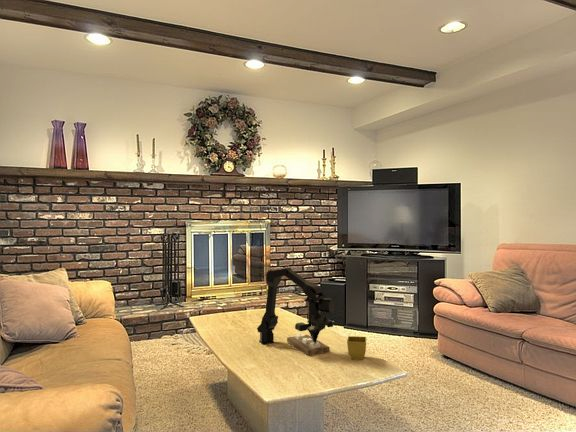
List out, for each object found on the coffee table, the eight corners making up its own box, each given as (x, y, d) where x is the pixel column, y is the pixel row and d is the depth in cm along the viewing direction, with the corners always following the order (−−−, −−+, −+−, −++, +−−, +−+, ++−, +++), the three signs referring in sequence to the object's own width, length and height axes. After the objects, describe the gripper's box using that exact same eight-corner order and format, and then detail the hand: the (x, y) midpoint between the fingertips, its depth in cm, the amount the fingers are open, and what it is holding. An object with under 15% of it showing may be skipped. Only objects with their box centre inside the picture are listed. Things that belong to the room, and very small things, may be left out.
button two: (305, 345, 212) (305, 340, 212) (302, 343, 215) (302, 338, 215) (312, 344, 213) (312, 339, 213) (309, 342, 217) (309, 337, 217)
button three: (313, 349, 204) (313, 344, 204) (309, 347, 208) (309, 342, 208) (320, 348, 206) (320, 343, 206) (316, 346, 209) (316, 341, 209)
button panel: (307, 355, 200) (307, 350, 201) (287, 342, 223) (287, 337, 223) (329, 351, 205) (329, 346, 205) (307, 339, 228) (307, 334, 228)
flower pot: (366, 361, 190) (366, 342, 190) (347, 361, 192) (346, 341, 192) (366, 355, 199) (366, 336, 199) (348, 354, 200) (348, 336, 201)
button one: (298, 341, 220) (298, 336, 220) (295, 339, 223) (295, 334, 223) (305, 339, 221) (305, 335, 221) (302, 338, 225) (302, 333, 225)
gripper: (304, 316, 196) (304, 349, 196) (338, 311, 203) (339, 343, 203) (294, 311, 206) (295, 343, 206) (327, 307, 213) (328, 338, 213)
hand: (314, 342), depth 207 cm, fingers closed
